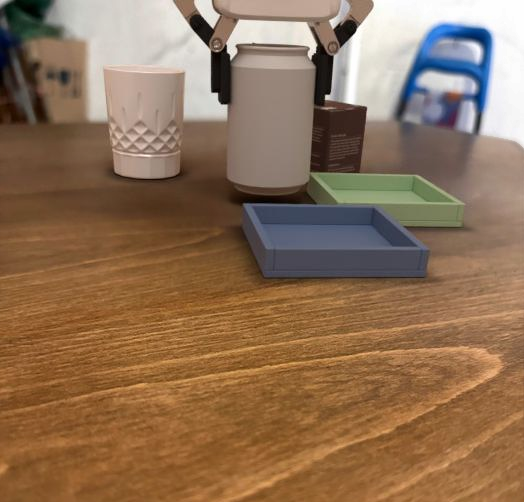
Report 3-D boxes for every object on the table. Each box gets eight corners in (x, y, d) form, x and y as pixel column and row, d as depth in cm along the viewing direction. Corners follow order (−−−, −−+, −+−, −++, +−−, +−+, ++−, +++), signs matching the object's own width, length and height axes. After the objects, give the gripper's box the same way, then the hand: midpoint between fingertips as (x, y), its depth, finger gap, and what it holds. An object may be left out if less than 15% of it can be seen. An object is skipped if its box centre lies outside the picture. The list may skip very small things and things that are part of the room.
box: (320, 166, 77) (327, 99, 74) (361, 177, 73) (369, 106, 70) (283, 171, 73) (288, 101, 70) (323, 183, 69) (330, 109, 66)
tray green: (415, 194, 67) (418, 174, 66) (461, 227, 57) (466, 204, 56) (306, 192, 65) (308, 172, 64) (335, 226, 56) (338, 202, 55)
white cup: (125, 161, 73) (122, 63, 69) (194, 168, 72) (195, 68, 68) (95, 176, 66) (89, 67, 62) (170, 184, 65) (170, 74, 61)
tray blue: (375, 229, 55) (378, 205, 54) (425, 277, 46) (430, 249, 45) (241, 227, 53) (242, 203, 53) (264, 277, 44) (265, 248, 43)
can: (317, 197, 58) (327, 46, 53) (231, 198, 57) (233, 44, 52) (299, 177, 65) (306, 42, 59) (222, 178, 64) (222, 39, 58)
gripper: (162, -169, 45) (170, 108, 53) (409, -150, 48) (380, 111, 56) (160, -147, 51) (167, 96, 59) (376, -131, 54) (355, 99, 62)
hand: (270, 102), depth 57 cm, fingers closed on can, 7 cm apart
